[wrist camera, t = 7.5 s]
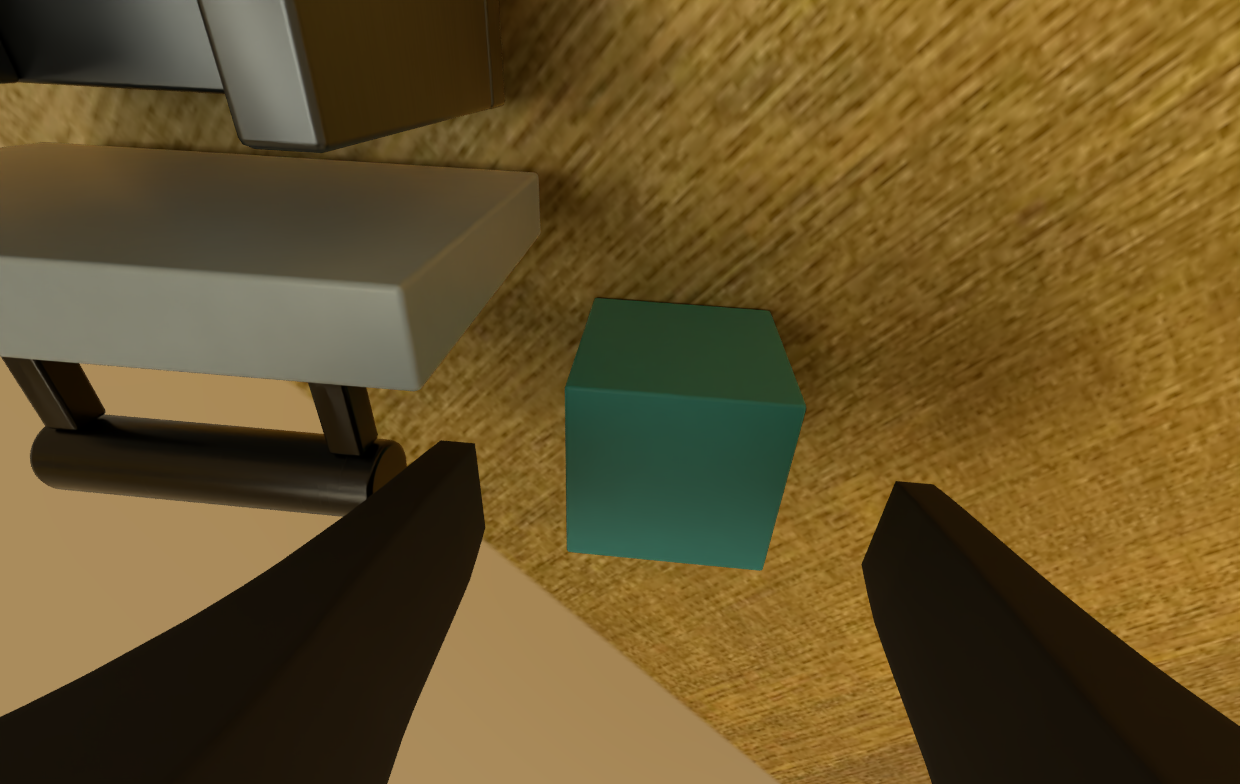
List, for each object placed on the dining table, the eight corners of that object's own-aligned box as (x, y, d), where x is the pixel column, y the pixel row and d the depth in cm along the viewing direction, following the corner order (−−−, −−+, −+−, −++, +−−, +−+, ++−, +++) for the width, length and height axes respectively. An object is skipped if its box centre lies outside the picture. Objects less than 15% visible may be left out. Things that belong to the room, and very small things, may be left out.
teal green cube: (591, 437, 14) (566, 552, 11) (594, 296, 12) (563, 386, 9) (741, 450, 14) (763, 572, 11) (770, 309, 12) (808, 406, 9)
